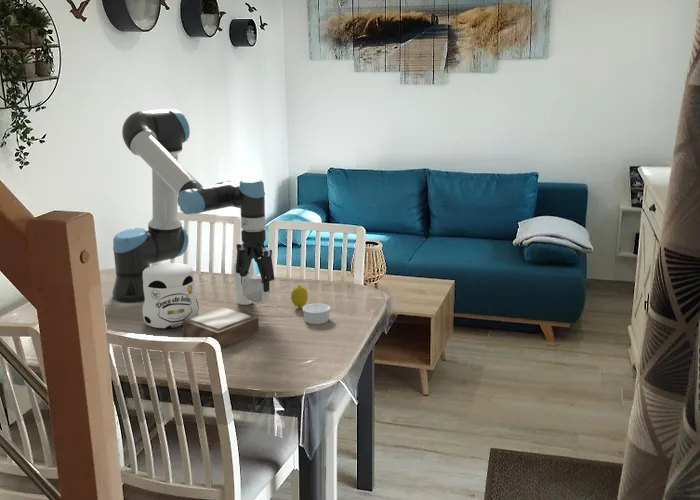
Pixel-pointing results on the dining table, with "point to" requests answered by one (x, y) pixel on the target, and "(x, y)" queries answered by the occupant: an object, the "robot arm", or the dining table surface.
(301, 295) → the lemon
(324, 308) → the ramekin
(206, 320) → the plinth
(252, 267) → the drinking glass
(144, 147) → the robot arm
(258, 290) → the die
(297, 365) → the dining table surface
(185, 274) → the milk container
